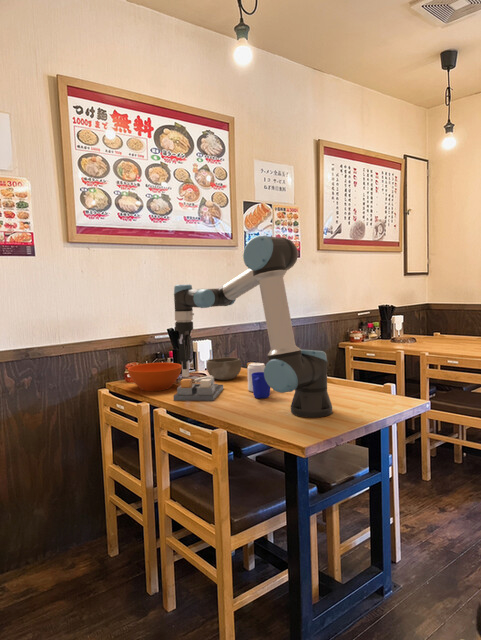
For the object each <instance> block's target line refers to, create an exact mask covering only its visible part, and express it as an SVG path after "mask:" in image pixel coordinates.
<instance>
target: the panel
mask: <svg viewBox="0 0 481 640" xmlns="http://www.w3.org/2000/svg"><path fill="white" fill-rule="evenodd" d="M222 391H224V384H218V383H214V385H211V387H210V388H201V386H200V383H192V386H191V387H190V388H181V384H180V385H178V387H177V388H176V393H175V394H174V395H173V396H172V397H173V401H178V402H179V401H183V402H184V401H185V402H186V401H187V402H188V401H189V402H190V401H191V402H196V401H197V402H202V401H203V402H214V401H215V400H216V398H217V397H218V396H219V395H220V394H221V392H222Z"/></svg>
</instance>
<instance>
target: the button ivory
mask: <svg viewBox="0 0 481 640" xmlns="http://www.w3.org/2000/svg"><path fill="white" fill-rule="evenodd" d="M199 384H200V386H201V388H210V387H211V379H202V380H201V381H199Z"/></svg>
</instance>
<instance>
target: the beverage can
mask: <svg viewBox="0 0 481 640" xmlns="http://www.w3.org/2000/svg"><path fill="white" fill-rule="evenodd" d="M265 367H266V364H265V363H262V362H251V363H249V364H248V366H247V390H248V391H250V392H251V393H253V384H252V373H256V372H264V368H265Z"/></svg>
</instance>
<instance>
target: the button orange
mask: <svg viewBox="0 0 481 640" xmlns="http://www.w3.org/2000/svg"><path fill="white" fill-rule="evenodd" d="M192 384H193V379H192V378H182V379H181V380H180V385H181V388H190V387H191V386H192Z"/></svg>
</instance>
